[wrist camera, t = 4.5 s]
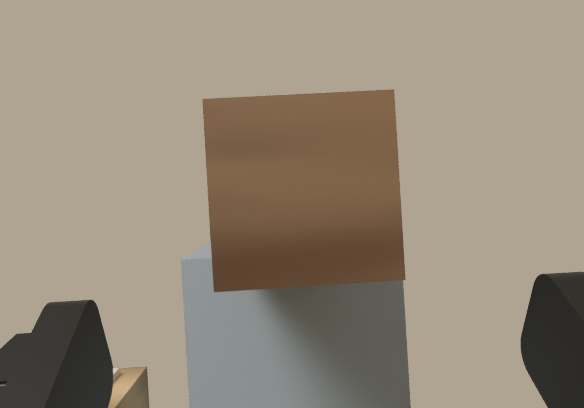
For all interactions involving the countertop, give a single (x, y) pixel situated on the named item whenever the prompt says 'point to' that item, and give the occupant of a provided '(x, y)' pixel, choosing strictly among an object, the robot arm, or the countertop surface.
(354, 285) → the stand
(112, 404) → the tall wooden block
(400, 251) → the brown wooden bar
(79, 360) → the robot arm
